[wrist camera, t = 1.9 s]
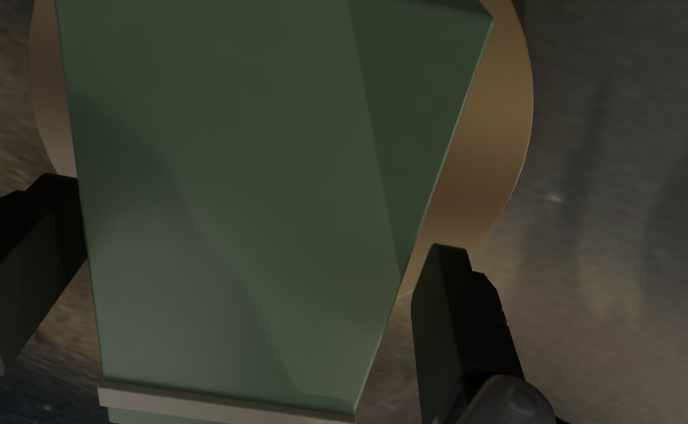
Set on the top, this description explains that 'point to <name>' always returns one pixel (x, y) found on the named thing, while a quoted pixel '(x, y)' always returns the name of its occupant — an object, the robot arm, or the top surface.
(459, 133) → the turntable
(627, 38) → the top surface
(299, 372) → the green box
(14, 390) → the top surface
